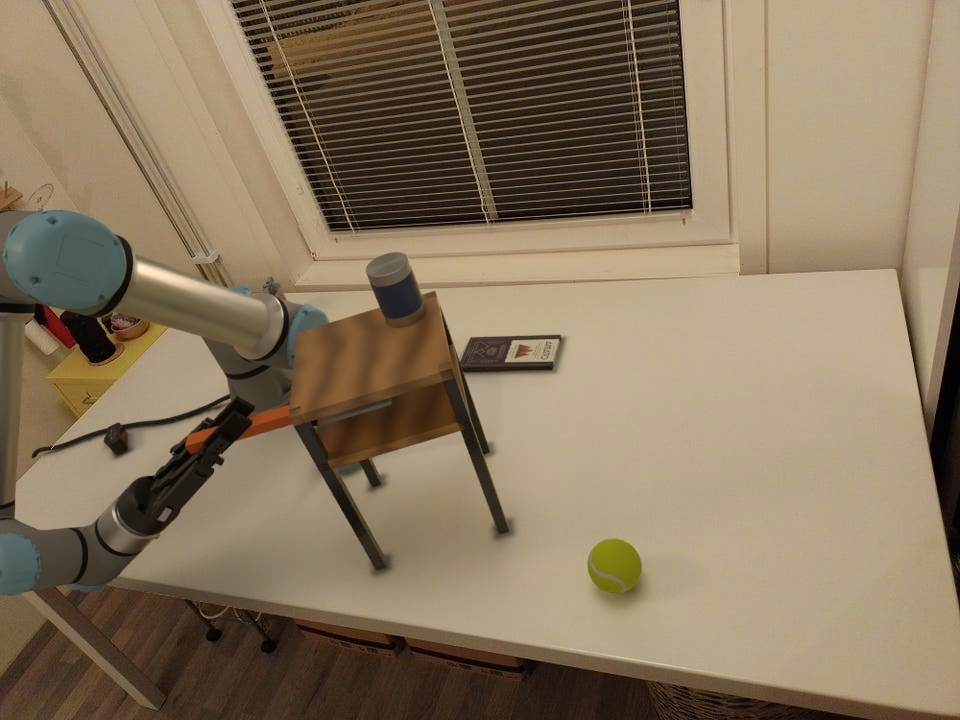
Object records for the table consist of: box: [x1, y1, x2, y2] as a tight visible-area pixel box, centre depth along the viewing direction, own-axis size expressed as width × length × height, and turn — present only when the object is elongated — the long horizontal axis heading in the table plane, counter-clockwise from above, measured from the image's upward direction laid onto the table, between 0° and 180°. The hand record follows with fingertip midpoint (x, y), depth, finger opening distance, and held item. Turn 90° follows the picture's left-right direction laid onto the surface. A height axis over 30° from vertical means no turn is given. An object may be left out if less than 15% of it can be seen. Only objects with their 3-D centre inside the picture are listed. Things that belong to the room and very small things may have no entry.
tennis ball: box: [587, 538, 643, 594], centre depth 88 cm, size 7×7×7 cm
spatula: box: [185, 397, 391, 454], centre depth 91 cm, size 27×6×2 cm, turn 99°
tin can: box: [365, 251, 426, 328], centre depth 91 cm, size 6×6×8 cm
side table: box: [289, 290, 510, 571], centre depth 99 cm, size 20×18×31 cm
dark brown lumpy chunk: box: [103, 422, 129, 456], centre depth 139 cm, size 5×7×3 cm, turn 25°
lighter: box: [261, 276, 288, 301], centre depth 160 cm, size 8×3×10 cm, turn 179°
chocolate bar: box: [459, 334, 562, 372], centre depth 131 cm, size 9×1×18 cm
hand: (244, 410), depth 89 cm, fingers closed on spatula, 2 cm apart
